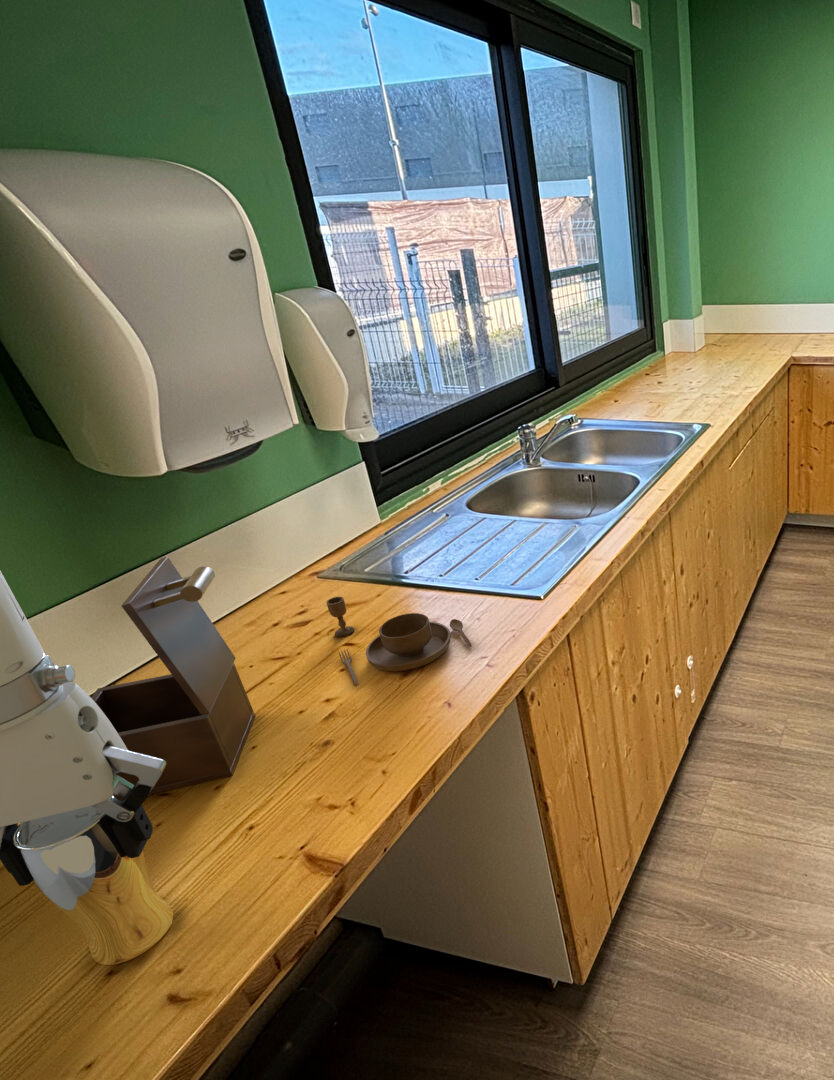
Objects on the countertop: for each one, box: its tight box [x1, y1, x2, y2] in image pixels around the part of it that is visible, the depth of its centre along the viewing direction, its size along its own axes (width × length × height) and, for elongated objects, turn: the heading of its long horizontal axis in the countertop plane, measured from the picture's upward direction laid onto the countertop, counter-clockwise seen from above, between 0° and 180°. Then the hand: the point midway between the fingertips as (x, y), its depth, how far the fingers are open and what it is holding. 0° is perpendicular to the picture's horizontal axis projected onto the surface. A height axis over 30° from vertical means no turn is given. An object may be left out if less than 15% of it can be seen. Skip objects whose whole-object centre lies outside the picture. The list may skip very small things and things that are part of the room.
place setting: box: [325, 596, 473, 686], centre depth 108 cm, size 18×20×6 cm
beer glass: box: [13, 796, 174, 966], centre depth 62 cm, size 7×7×15 cm
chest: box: [90, 662, 256, 802], centre depth 84 cm, size 15×12×9 cm
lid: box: [121, 556, 236, 715], centre depth 81 cm, size 15×12×6 cm
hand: (88, 857), depth 61 cm, fingers closed on beer glass, 7 cm apart
